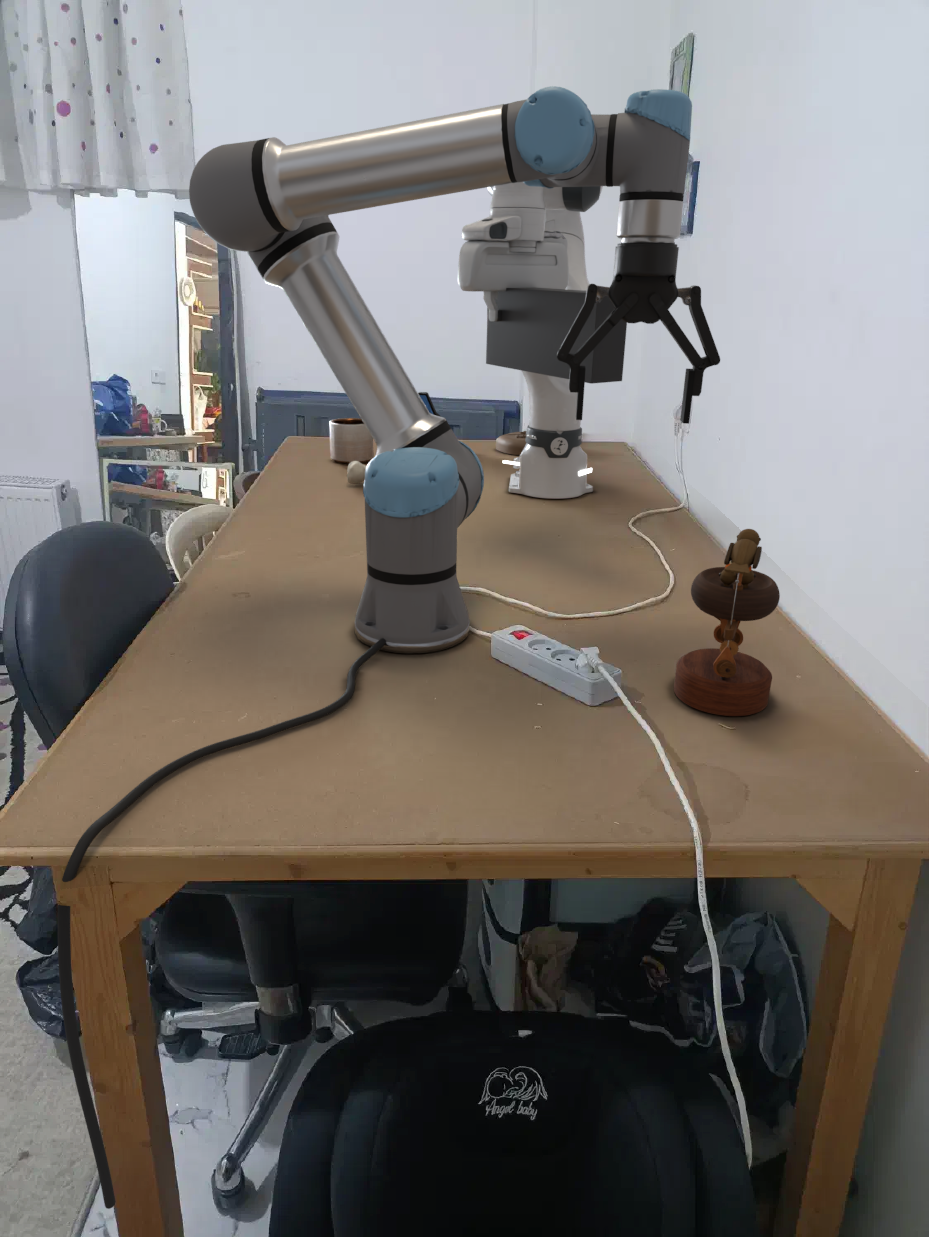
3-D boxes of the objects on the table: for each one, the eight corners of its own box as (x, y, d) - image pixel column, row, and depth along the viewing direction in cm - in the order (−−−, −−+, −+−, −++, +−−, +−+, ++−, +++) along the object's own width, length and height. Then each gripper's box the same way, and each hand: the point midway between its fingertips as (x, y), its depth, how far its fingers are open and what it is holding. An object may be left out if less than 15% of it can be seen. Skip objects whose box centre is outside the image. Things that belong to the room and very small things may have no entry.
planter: (327, 456, 217) (325, 418, 214) (369, 454, 220) (368, 417, 217) (334, 465, 208) (332, 425, 204) (377, 463, 211) (376, 424, 207)
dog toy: (434, 479, 195) (434, 457, 194) (437, 485, 190) (437, 463, 188) (346, 480, 192) (345, 459, 190) (347, 487, 187) (346, 464, 185)
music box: (786, 726, 90) (801, 547, 83) (681, 727, 92) (686, 551, 84) (757, 665, 104) (767, 507, 97) (666, 666, 106) (669, 511, 98)
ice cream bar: (502, 465, 211) (502, 448, 209) (493, 443, 237) (494, 428, 235) (586, 465, 212) (587, 448, 210) (568, 444, 238) (569, 429, 236)
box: (622, 381, 126) (629, 293, 122) (591, 383, 123) (597, 293, 118) (514, 362, 148) (517, 286, 143) (485, 363, 145) (487, 286, 140)
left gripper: (746, 244, 104) (724, 418, 112) (544, 241, 106) (536, 412, 115) (760, 242, 97) (735, 428, 105) (543, 239, 100) (534, 421, 108)
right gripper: (555, 231, 143) (550, 318, 148) (453, 227, 132) (452, 321, 138) (579, 231, 138) (574, 320, 143) (475, 227, 128) (473, 323, 133)
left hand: (631, 420), depth 110 cm, fingers open, 13 cm apart
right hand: (513, 321), depth 141 cm, fingers closed on box, 6 cm apart
